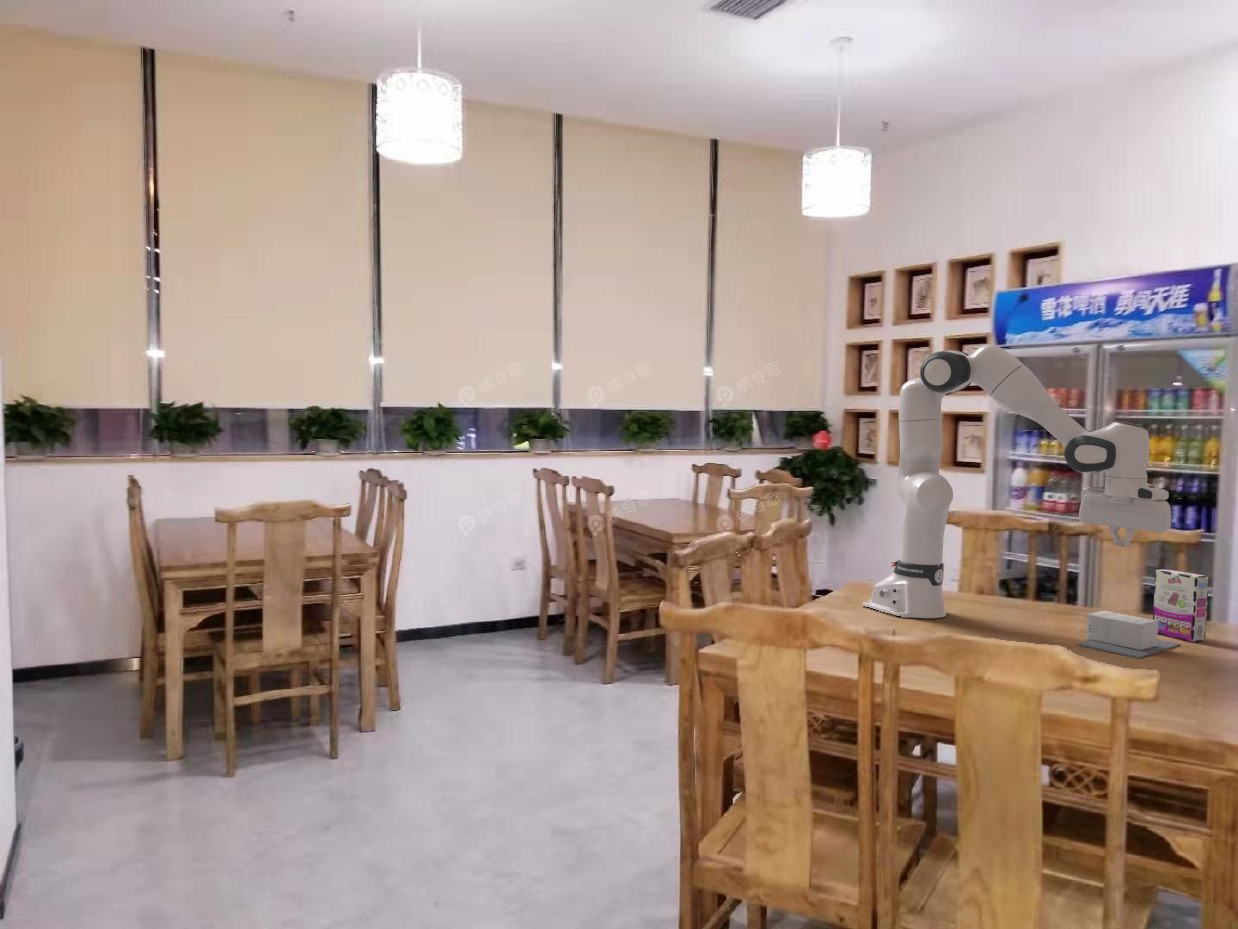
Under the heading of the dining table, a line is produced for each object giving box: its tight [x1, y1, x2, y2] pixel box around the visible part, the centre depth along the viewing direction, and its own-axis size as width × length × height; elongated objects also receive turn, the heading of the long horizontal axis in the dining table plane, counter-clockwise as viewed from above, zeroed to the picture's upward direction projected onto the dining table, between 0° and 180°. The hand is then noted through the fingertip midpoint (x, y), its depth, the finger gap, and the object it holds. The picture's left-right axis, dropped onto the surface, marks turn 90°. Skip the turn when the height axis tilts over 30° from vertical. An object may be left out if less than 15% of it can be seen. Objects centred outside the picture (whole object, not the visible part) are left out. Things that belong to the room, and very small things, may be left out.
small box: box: [1086, 610, 1159, 650], centre depth 225 cm, size 8×6×13 cm
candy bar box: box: [1152, 568, 1210, 643], centre depth 233 cm, size 11×5×16 cm, turn 23°
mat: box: [1077, 638, 1181, 660], centre depth 224 cm, size 14×22×1 cm, turn 127°
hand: (1121, 546), depth 225 cm, fingers closed
